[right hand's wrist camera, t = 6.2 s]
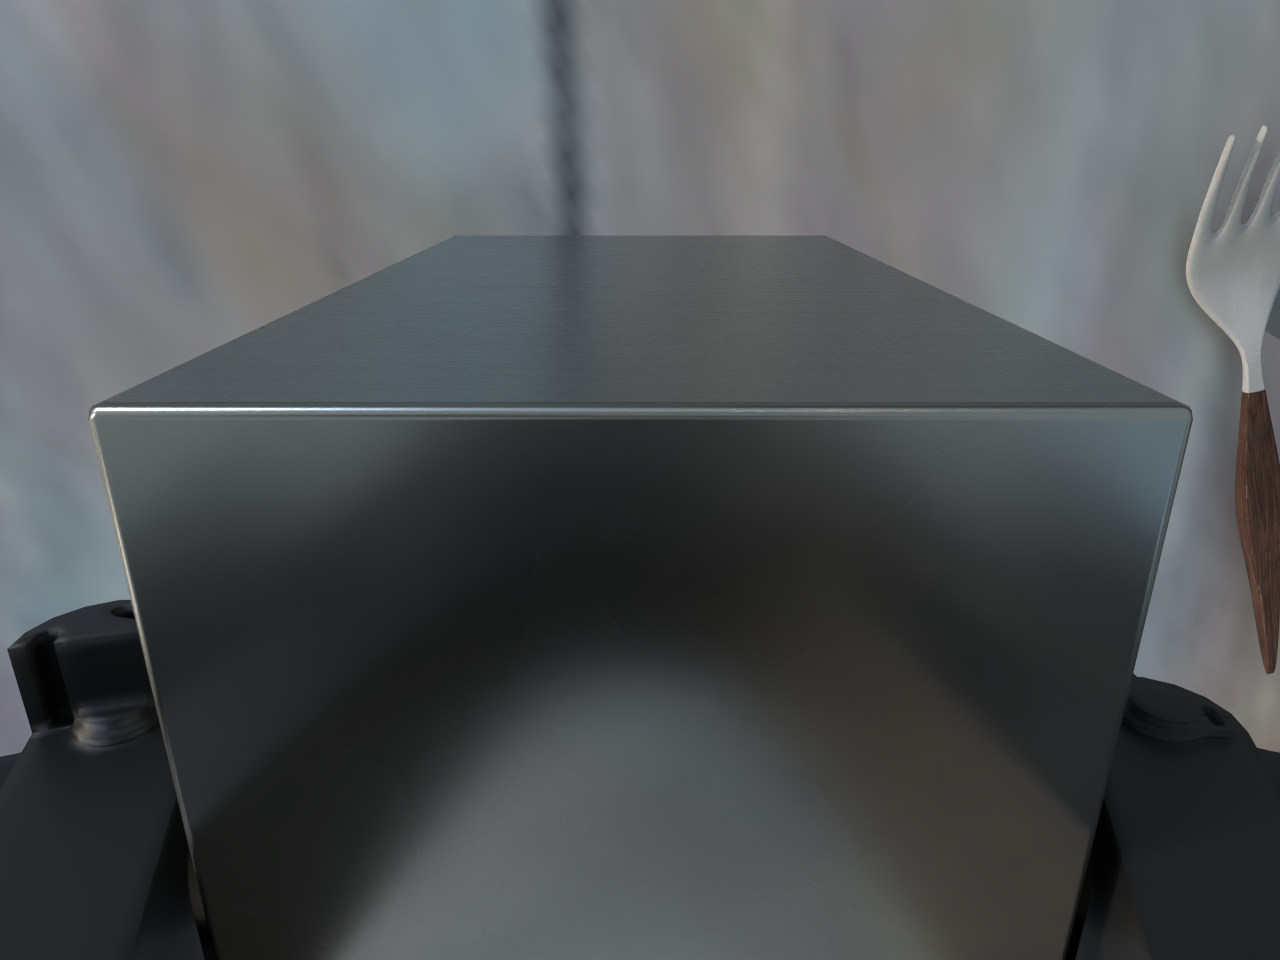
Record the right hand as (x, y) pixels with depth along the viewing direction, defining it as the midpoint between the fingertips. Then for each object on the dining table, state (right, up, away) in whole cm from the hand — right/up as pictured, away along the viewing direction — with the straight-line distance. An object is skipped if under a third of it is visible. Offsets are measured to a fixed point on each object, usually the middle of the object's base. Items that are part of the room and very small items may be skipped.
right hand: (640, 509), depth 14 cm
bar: (0, -8, +3) cm, 8 cm away
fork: (+16, +2, +10) cm, 19 cm away
